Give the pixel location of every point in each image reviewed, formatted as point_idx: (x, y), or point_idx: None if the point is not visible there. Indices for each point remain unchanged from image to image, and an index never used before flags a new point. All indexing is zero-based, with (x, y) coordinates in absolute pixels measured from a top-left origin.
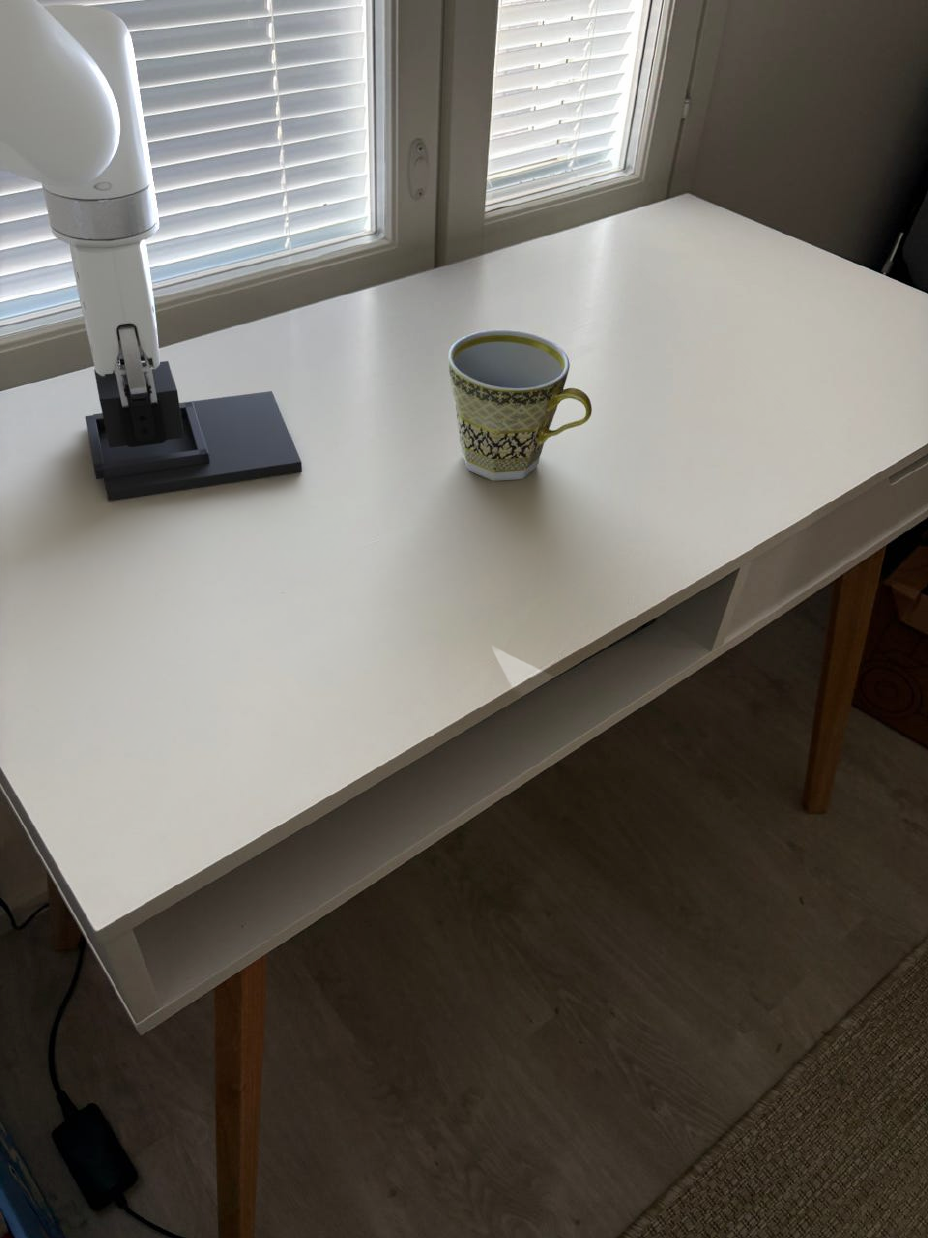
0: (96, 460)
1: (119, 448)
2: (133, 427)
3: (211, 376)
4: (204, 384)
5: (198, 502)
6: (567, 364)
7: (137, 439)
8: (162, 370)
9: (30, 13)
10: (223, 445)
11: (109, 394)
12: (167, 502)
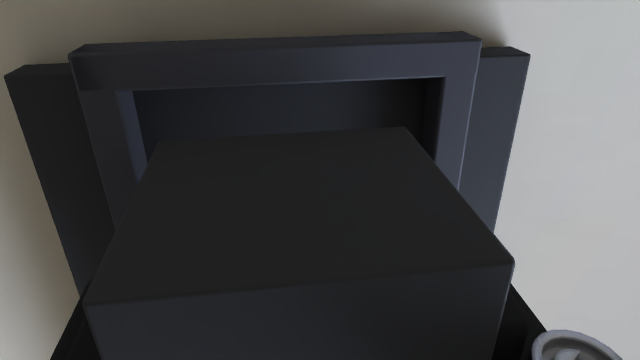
0: (138, 67)
1: (282, 132)
2: (81, 314)
3: (592, 332)
4: (567, 319)
5: (28, 296)
6: None
7: (90, 280)
8: None
9: None
10: None
11: (152, 349)
12: (26, 229)
